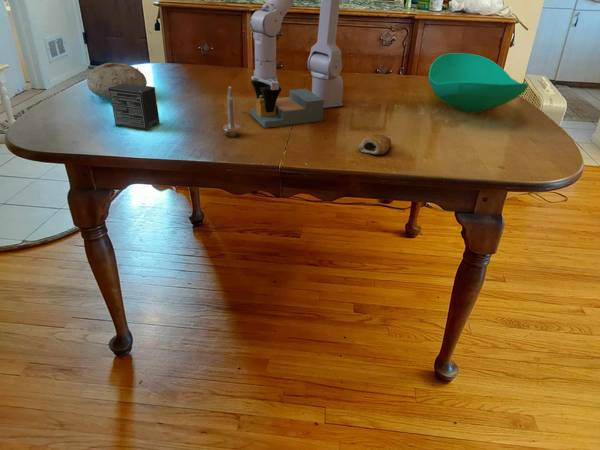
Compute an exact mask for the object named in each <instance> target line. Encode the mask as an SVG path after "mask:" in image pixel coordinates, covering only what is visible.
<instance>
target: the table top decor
mask: <svg viewBox="0 0 600 450" xmlns="http://www.w3.org/2000/svg"><path fill="white" fill-rule="evenodd" d="M428 82H429V83H428V84H429V85H430V87H431V88H432V91H433V93H434V94H435V95H436V96H437V97H438V99H439V100H440V101H441V102H443V103H445V104H447V105H448V106H449V107H452V108H454V109H456V110H458V111H460V112H465V113H477V114H478V113H482V112H484V111H486V110H489V109H493V108H497V107H499V106H503V105H506V104H508V103H509V102H511V101H513V100H515V99H517V98H518V97H520V96H521V95H522V94H523V93H525V91H526V90H527V88H528V87H529V84H528V83H524V82H521V83H520V82H519V81H517V80H515V79H514V78H512V77H511V76H510V75H509V74H508V73H507V71H506V70H505V69H504V68H503V67H501V66H500V65H499V64H498V63H496V62H495V61H493V60H491V59H489V58H487V57H485V56H482V55H478V54H473V53H467V52H466V53H463V52H450V53H443V54H441V55H440V56H438V57H437V58H436V59H434V61H433V62H432V63H431V65H430V66H429V72H428Z"/></svg>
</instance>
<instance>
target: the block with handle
mask: <svg viewBox="0 0 600 450" xmlns="http://www.w3.org/2000/svg"><path fill="white" fill-rule="evenodd" d="M261 97H263V95H260V98H257V97H256V102H255V103H256V105H255V106H256V107H255V108H257V114H258V115H259V116H260V117H264V116H273V115H276V104H275V108H274V112H268V113H267V112H266V110H265V103H264V98H261Z"/></svg>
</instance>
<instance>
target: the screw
mask: <svg viewBox="0 0 600 450" xmlns="http://www.w3.org/2000/svg"><path fill="white" fill-rule="evenodd" d="M226 93H227V94H226V95H227V96H226V97H227V98H226V102H227V103H226V109H227V124H224V125H223V126H222V130H223V131H224V132H226V136H227V137H231V138H233V137H236V136H238V132H240V131H241V130H242V126H241V125H240V124H237V123H236V121H235V120H236V119H235V118H236V117H235V116H236V115H235V101H234V100H235V99H234V95H233V87H231V86H230V85H229V86H227V87H226Z"/></svg>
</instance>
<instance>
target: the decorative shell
mask: <svg viewBox="0 0 600 450" xmlns="http://www.w3.org/2000/svg"><path fill="white" fill-rule="evenodd" d="M122 83H126V84H134V85H142V86H147V85H148V84H147V83H148V82H147V77H146V76H145V74H144V73H143V72H142V71H140V69H139V68H138V67H137V68H136V67H134V66H133V65H130V64H127V63H124V62H122V63H120V62H113V61H111V62H106V63H103V64H100V65H98V66H95V67H94V68H93V69H91V70H89V73H88V75H87V77H86V85H87V88H88V90H89V91H90V92H91V93H92V94H94V95H96V96H97V97H100V98H103V99H111V97H110V92H109V89H108V88H110V87H113V86H116V85H119V84H122Z"/></svg>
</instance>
